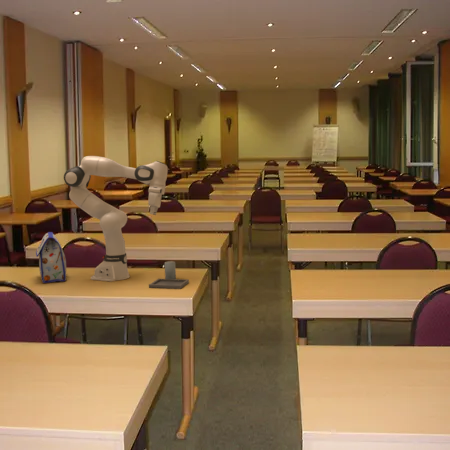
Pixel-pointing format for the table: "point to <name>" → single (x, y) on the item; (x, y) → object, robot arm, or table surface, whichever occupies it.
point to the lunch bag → (51, 259)
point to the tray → (169, 283)
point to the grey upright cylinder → (170, 270)
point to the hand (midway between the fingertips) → (152, 214)
